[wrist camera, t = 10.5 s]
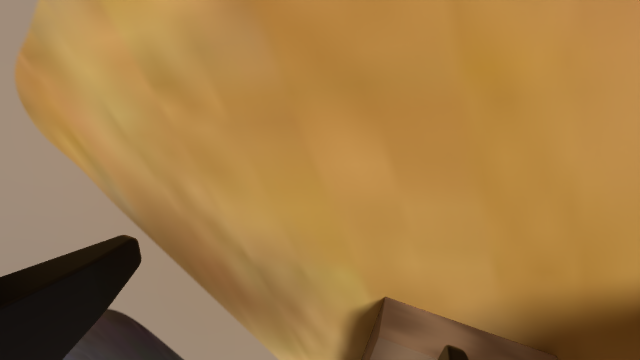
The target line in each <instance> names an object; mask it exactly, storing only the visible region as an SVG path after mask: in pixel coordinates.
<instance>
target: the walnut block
mask: <svg viewBox="0 0 640 360" xmlns="http://www.w3.org/2000/svg"><path fill="white" fill-rule="evenodd" d="M446 345H451V346H454V347H457V348H460V349H462V350H464V351H465V353H466V354H467V356H468V358H469V360H557V357H556V356H554V355H551V354H548V353H545V352H542V351H539V350H536V349H533V348H531V347H528V346H525V345H522V344H519V343H516V342H513V341H511V340H508V339H505V338H502V337H499V336H496V335H493V334H490V333H488V332H485V331H482V330H479V329H476V328H473V327H470V326H468V325H465V324H462V323H459V322H456V321H453V320H450V319H448V318H445V317H442V316H439V315H436V314H433V313H430V312H427V311H425V310H422V309H419V308H416V307H413V306H410V305H407V304H405V303H402V302H399V301H396V300H393V299H390V298H387V297H385V299H384V302H383V305H382V307H381V310H380V313H379V315H378V318H377V320H376V323H375V326H374V328H373V331H372V334H371V336H370V339H369V341H368V344H367V347H366V349H365V352H364V354H363V357H362V360H438V358H439V356H440V354H441V352H442V351H443V349H444V347H445V346H446Z"/></svg>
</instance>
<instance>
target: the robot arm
mask: <svg viewBox="0 0 640 360" xmlns="http://www.w3.org/2000/svg"><path fill="white" fill-rule="evenodd" d="M140 263H141V254H140V248H139V244H138V241H137V239H136V238H133V237H130V236H127V235H121V236H118V237H115V238H112V239H109V240H106V241H103V242H100V243H98V244H94V245H92V246H89V247H86V248H83V249H80V250H77V251H74V252H71V253H68V254H66V255H63V256H60V257H57V258H54V259H51V260H48V261H45V262H43V263H40V264H37V265H34V266H31V267H28V268H26V269H22V270H20V271H17V272H14V273H11V274H8V275H5V276H2V277H0V360H62V359H63V358H64V357H65V356H66V355H67V354H68V353H69V352H70V350H71V349H72V348H73V347H74V346H75V345H76V344H77V343H78V341H79V340H80V339H81V338H82V337H83V336H84V335H85V334H86V332H87V331H88V330H89V329H90V328H91V327H92V326H93V325H94V323H95V322H96V321H97V320H98V319H99V318H100V317H101V315H102V314H103V313H104V312H105V311H106V310H107V308H108V307H109V306H110V304H111V303H112V302H113V300H114V299H115V298H116V296H117V295H118V294H119V292H120V291H121V290H122V288H123V287H124V286H125V284H126V283H127V282H128V280H129V279H130V278H131V276H132V275H133V274H134V272H135V271H136V270H137V268H138V267H139V265H140ZM438 360H469V358H468V356H467V354H466V353H465V351H464V350H462V349H460V348H457V347H454V346H451V345H446V346H445V347H444V349H443V351H442V352H441V354H440V356H439V358H438Z"/></svg>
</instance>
